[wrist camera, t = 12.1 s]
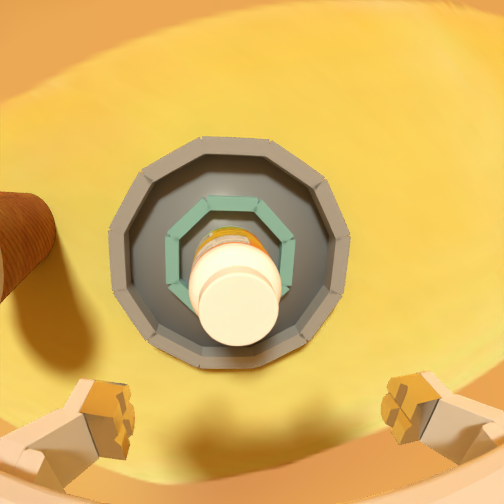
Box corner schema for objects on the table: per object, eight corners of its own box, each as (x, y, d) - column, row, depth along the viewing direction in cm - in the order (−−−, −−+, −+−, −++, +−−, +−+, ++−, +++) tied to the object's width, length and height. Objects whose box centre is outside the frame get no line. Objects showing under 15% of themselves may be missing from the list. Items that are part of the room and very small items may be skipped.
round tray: (345, 150, 25) (357, 149, 22) (323, 350, 29) (331, 364, 27) (118, 140, 22) (109, 137, 20) (127, 350, 27) (121, 364, 24)
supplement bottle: (267, 287, 26) (295, 350, 17) (199, 295, 25) (193, 363, 16) (261, 220, 25) (290, 252, 15) (190, 228, 24) (175, 265, 15)
